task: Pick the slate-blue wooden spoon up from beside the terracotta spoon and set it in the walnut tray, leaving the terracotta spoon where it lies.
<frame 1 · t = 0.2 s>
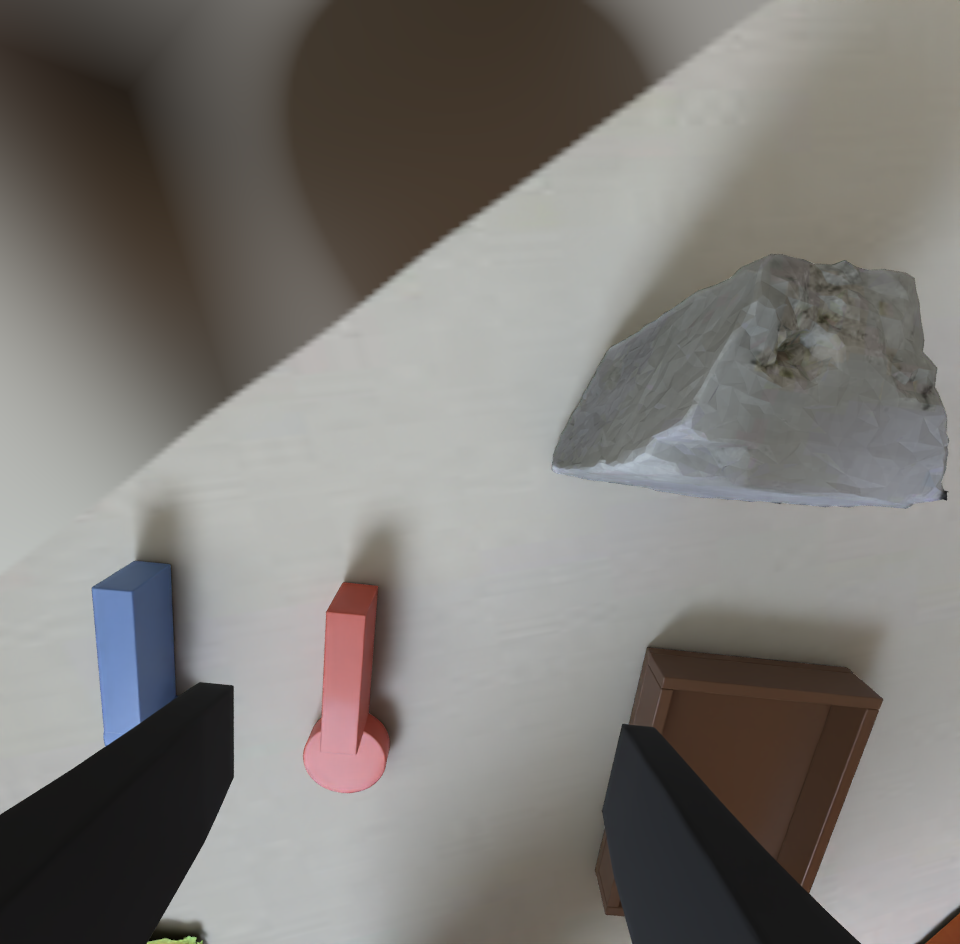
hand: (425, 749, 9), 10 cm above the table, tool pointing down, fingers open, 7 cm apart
terracotta spoon: (354, 681, 20), on the table
mineral specimen: (653, 396, 18), on the table
tray: (713, 774, 21), on the table
blue spoon: (158, 662, 20), on the table
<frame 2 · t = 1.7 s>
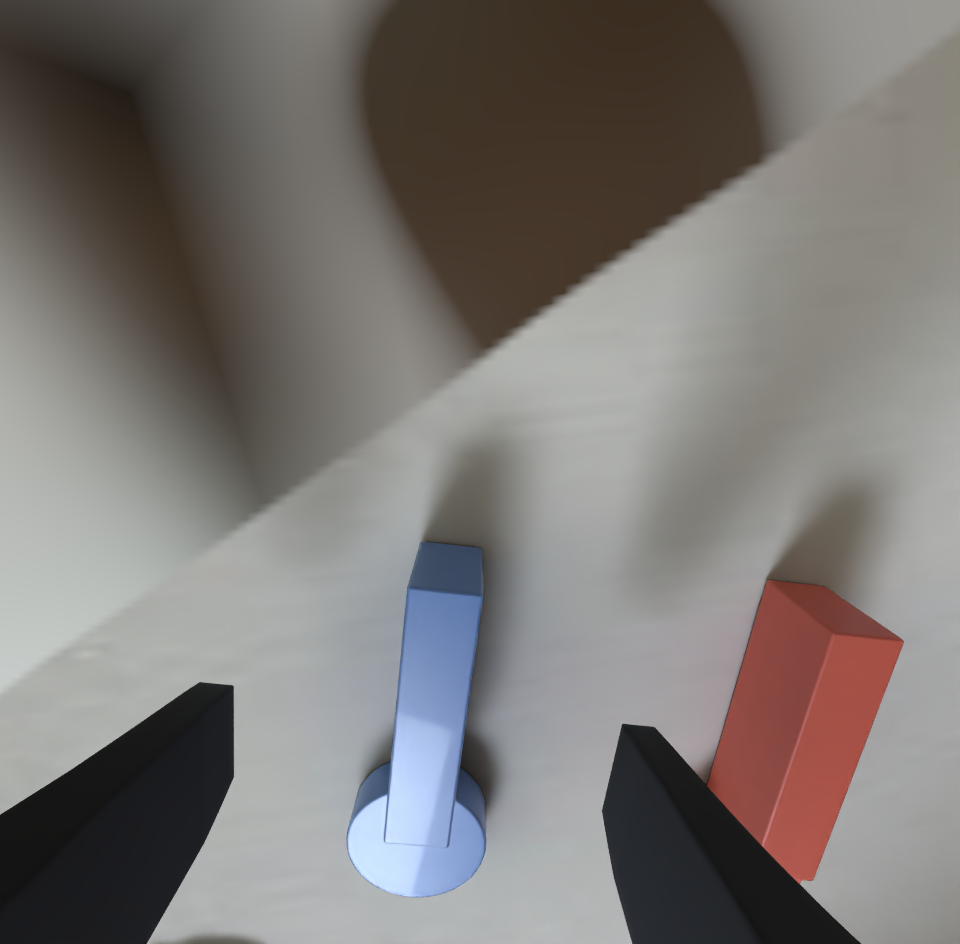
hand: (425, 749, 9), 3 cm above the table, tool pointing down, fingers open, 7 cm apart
terracotta spoon: (745, 742, 12), on the table
blue spoon: (431, 711, 12), on the table
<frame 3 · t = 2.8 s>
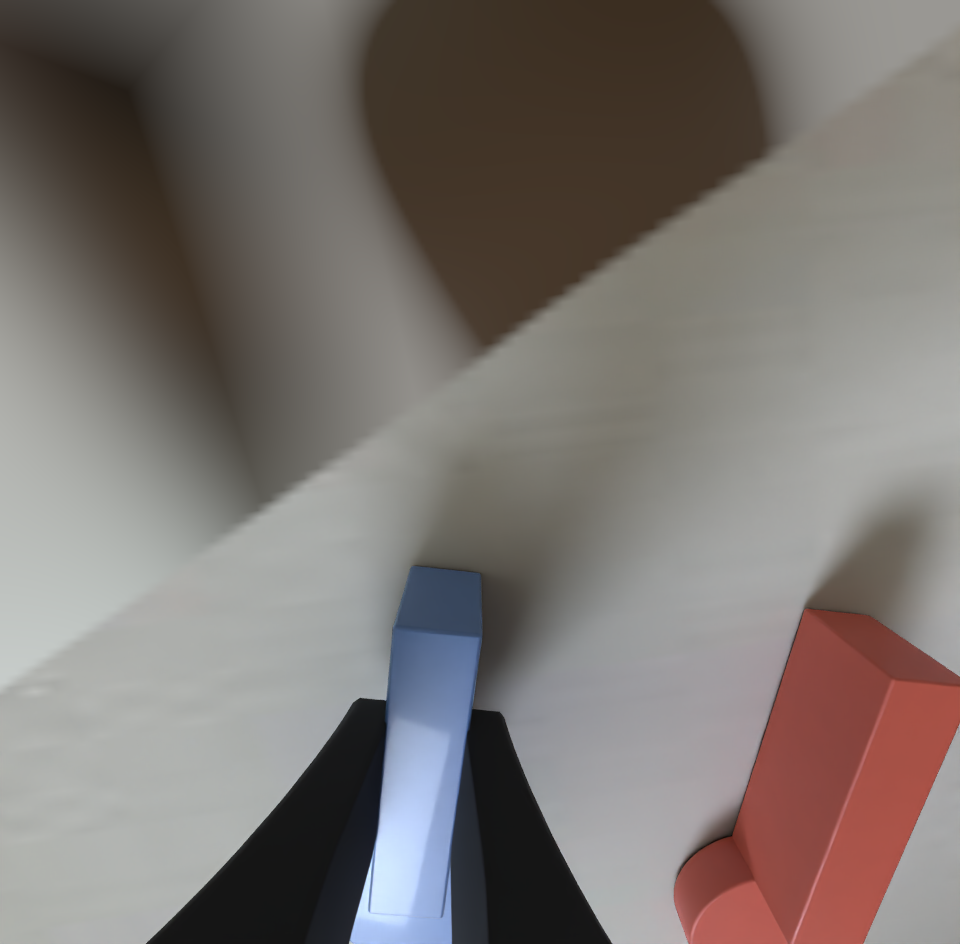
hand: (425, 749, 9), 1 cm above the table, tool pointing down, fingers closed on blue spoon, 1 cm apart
terracotta spoon: (776, 787, 11), on the table
blue spoon: (424, 754, 11), on the table, touching gripper
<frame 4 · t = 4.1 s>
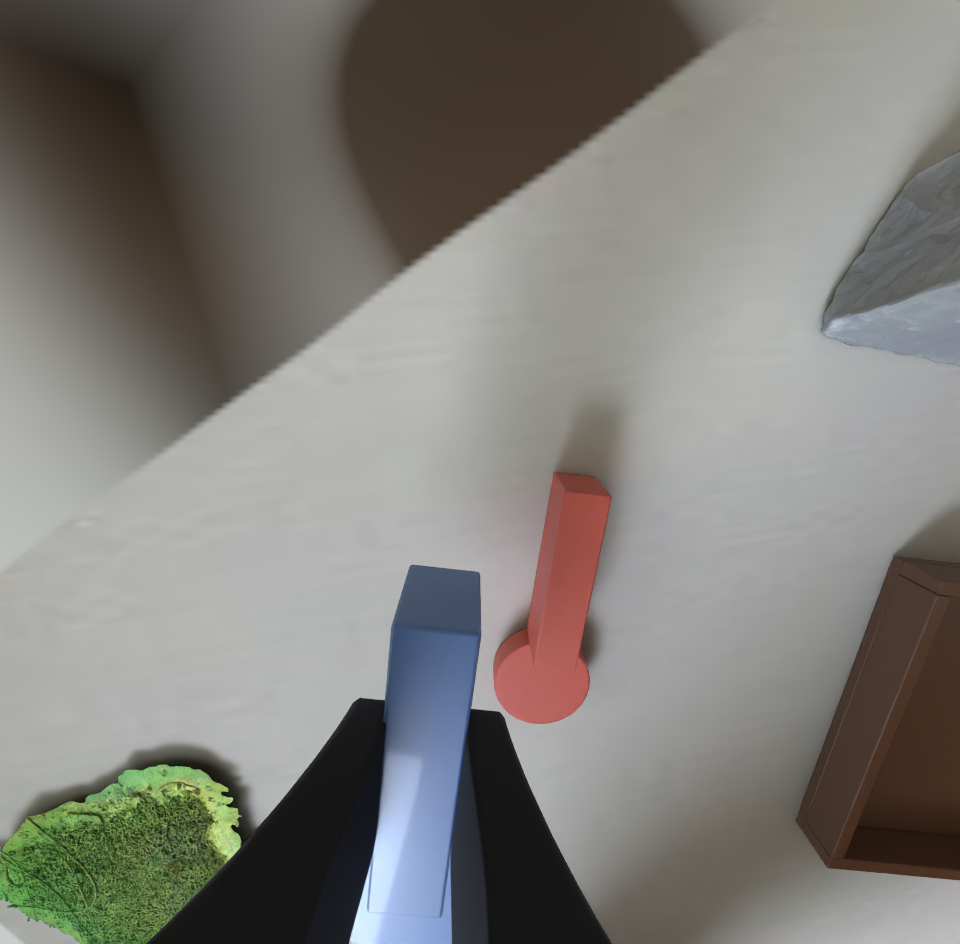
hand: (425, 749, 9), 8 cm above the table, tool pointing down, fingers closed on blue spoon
terracotta spoon: (551, 594, 17), on the table
mineral specimen: (944, 245, 15), on the table
moss: (184, 866, 21), on the table
tray: (945, 710, 19), on the table
blue spoon: (424, 753, 11), point 7 cm above the table, touching gripper
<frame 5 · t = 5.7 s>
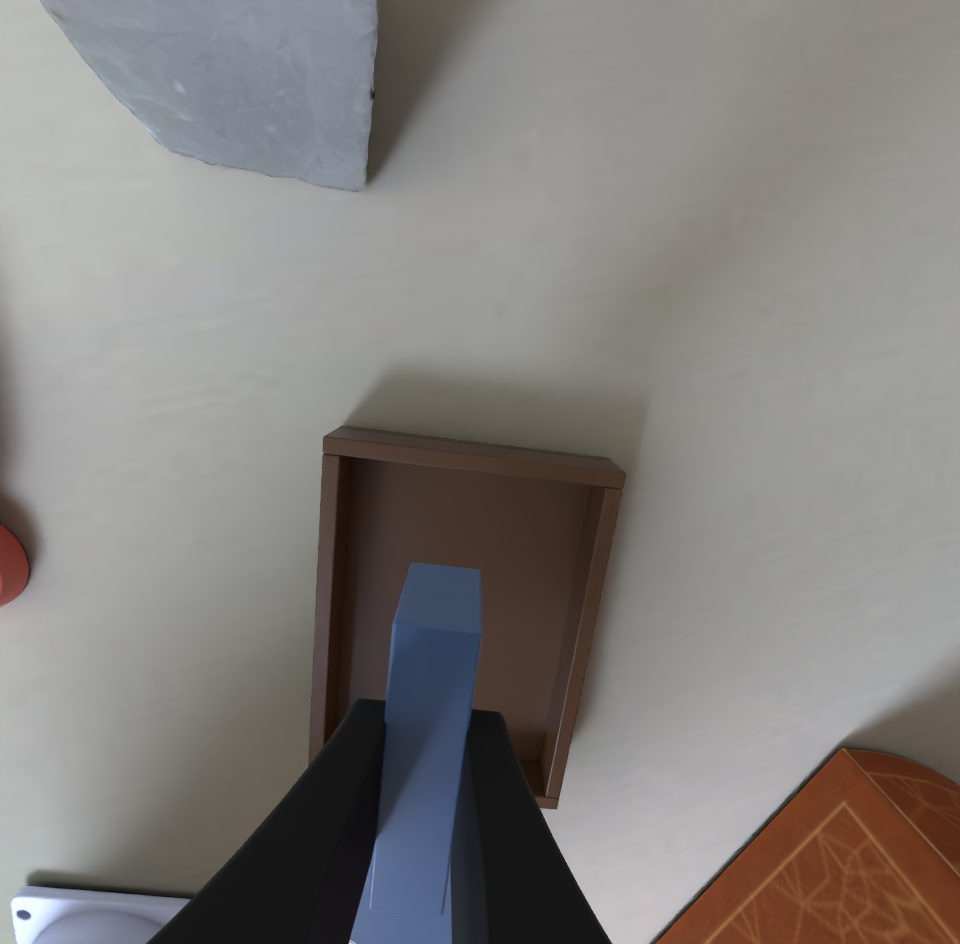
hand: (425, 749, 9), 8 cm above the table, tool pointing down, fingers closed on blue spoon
mineral specimen: (297, 43, 13), on the table
tray: (455, 611, 17), on the table
blue spoon: (424, 751, 11), point 6 cm above the table, touching gripper
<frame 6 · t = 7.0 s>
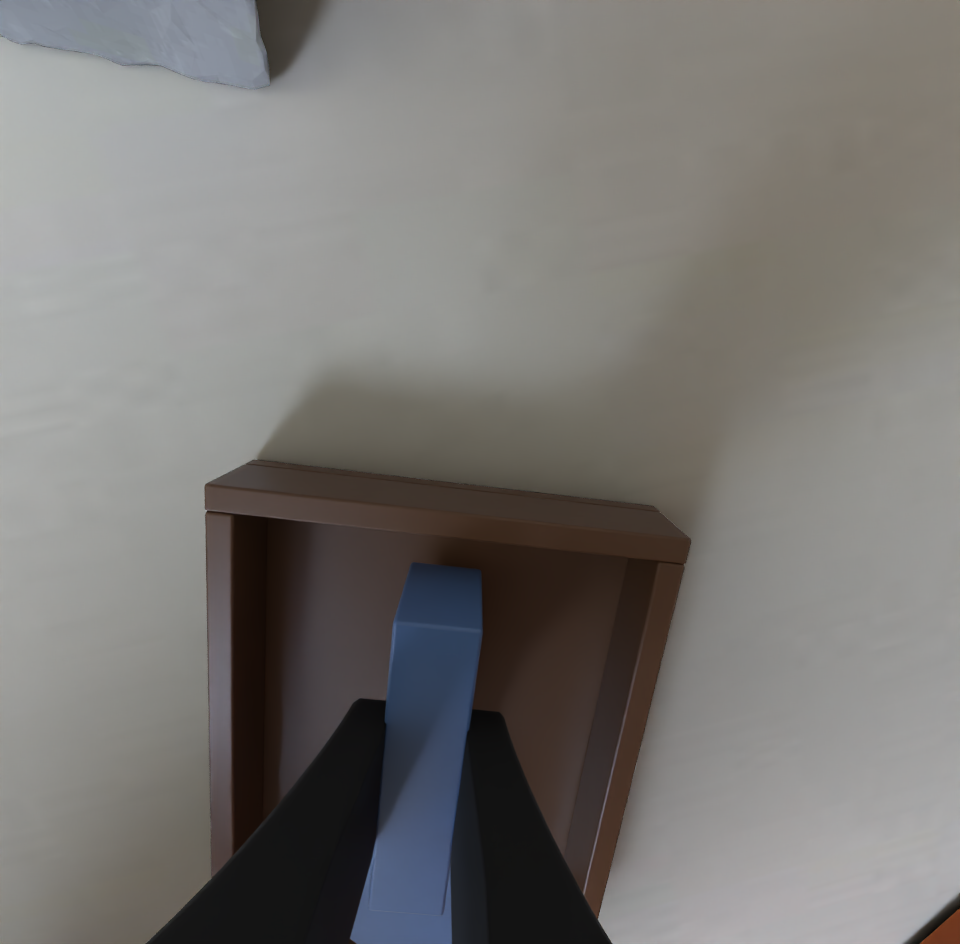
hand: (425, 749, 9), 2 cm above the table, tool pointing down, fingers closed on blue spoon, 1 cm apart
tray: (429, 720, 12), on the table
blue spoon: (425, 751, 11), point 1 cm above the table, touching gripper
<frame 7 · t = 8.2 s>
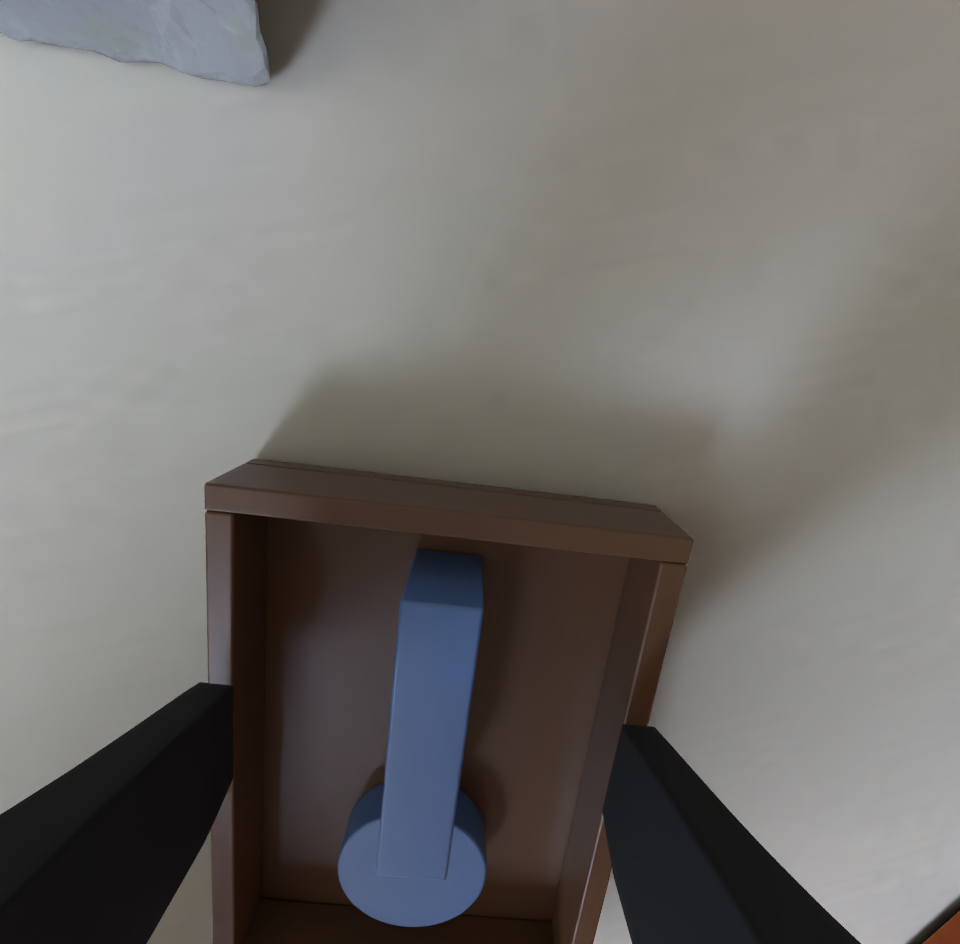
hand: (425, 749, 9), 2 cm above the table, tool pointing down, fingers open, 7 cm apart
tray: (430, 720, 12), on the table
blue spoon: (428, 730, 11), resting on tray
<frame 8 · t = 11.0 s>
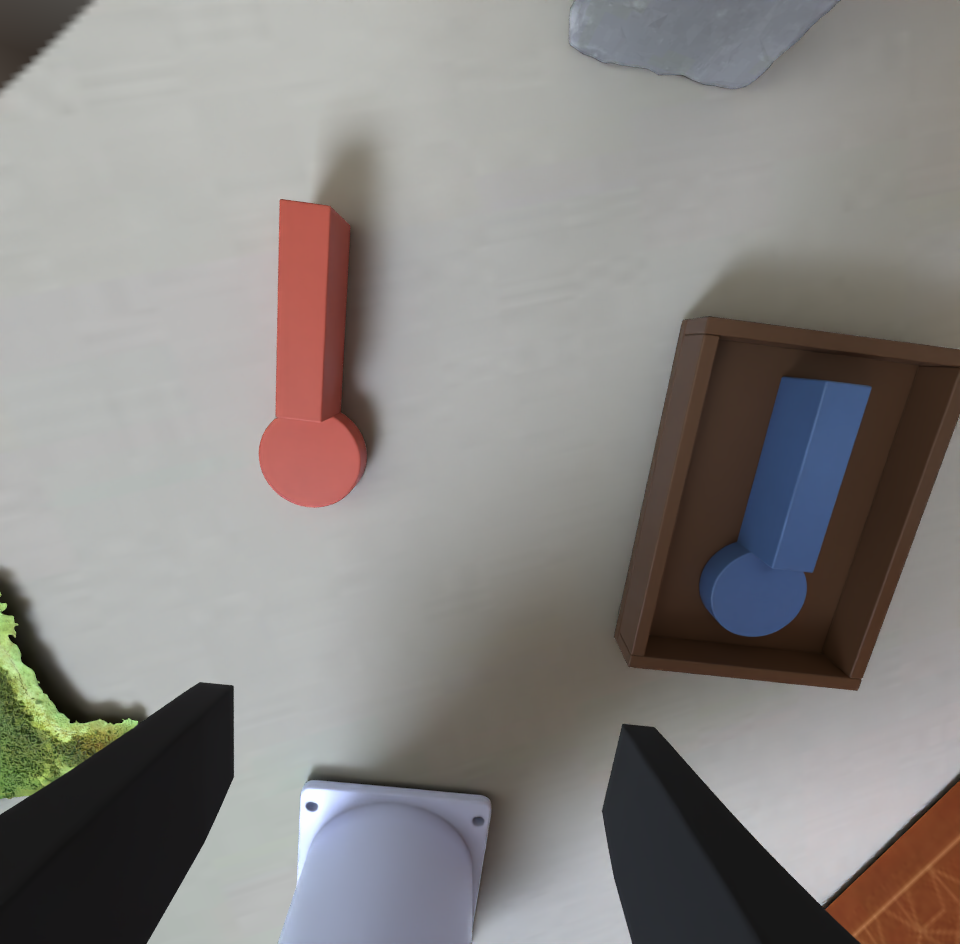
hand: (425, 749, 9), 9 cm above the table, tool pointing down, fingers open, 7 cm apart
terracotta spoon: (322, 366, 16), on the table
tray: (758, 504, 18), on the table
blue spoon: (765, 505, 17), resting on tray
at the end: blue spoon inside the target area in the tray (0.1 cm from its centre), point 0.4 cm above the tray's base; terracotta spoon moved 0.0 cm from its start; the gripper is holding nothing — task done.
